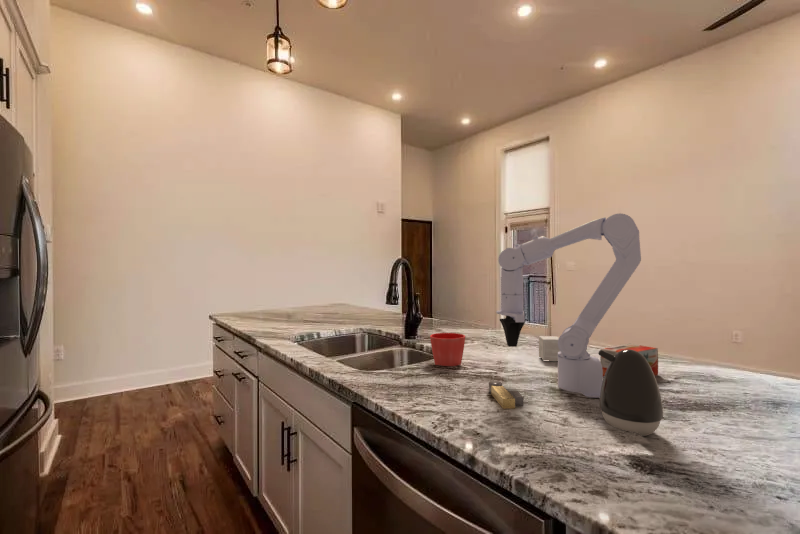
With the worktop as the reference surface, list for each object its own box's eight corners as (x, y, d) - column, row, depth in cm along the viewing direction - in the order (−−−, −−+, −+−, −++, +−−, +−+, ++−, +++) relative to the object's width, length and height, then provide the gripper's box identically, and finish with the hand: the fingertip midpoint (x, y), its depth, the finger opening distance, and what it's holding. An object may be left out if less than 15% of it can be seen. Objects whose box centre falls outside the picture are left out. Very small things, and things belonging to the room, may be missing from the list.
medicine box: (629, 369, 114) (629, 342, 114) (659, 375, 107) (659, 347, 107) (599, 376, 106) (599, 348, 106) (628, 384, 99) (628, 353, 99)
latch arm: (487, 390, 89) (487, 381, 89) (499, 390, 90) (499, 381, 90) (501, 408, 78) (501, 398, 78) (516, 408, 78) (516, 397, 78)
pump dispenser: (604, 415, 78) (604, 341, 78) (665, 428, 71) (665, 348, 71) (592, 431, 70) (592, 350, 70) (659, 449, 63) (659, 359, 63)
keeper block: (517, 400, 83) (517, 390, 83) (523, 406, 79) (523, 397, 79) (508, 400, 83) (508, 390, 83) (513, 406, 79) (513, 397, 79)
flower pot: (424, 364, 119) (424, 333, 119) (456, 361, 123) (456, 331, 123) (438, 373, 109) (437, 339, 109) (471, 369, 112) (471, 337, 112)
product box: (557, 357, 127) (557, 336, 127) (562, 362, 121) (562, 339, 121) (538, 357, 128) (538, 335, 128) (542, 361, 122) (542, 339, 122)
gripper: (490, 292, 106) (490, 340, 106) (503, 296, 92) (504, 352, 92) (515, 292, 106) (515, 340, 106) (533, 296, 92) (533, 352, 92)
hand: (512, 346), depth 99 cm, fingers closed
